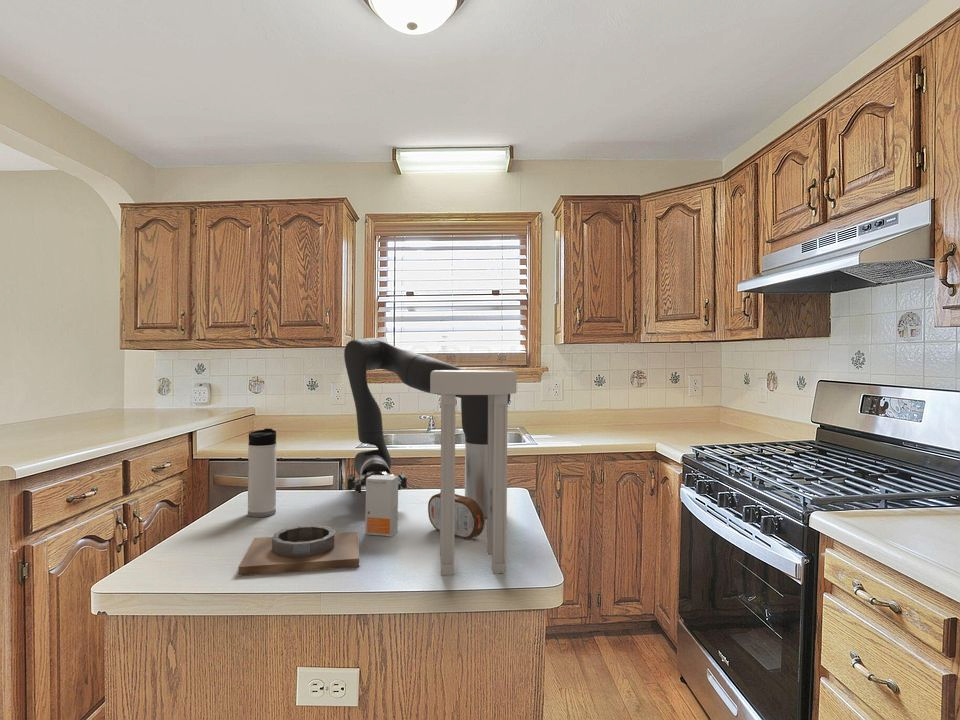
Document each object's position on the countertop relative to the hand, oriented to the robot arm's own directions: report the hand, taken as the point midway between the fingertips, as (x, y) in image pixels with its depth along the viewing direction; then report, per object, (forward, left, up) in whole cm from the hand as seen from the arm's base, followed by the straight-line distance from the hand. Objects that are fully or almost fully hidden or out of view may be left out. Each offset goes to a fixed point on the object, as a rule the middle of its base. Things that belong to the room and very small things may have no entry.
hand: (378, 488), depth 129 cm
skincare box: (0, +11, -7) cm, 13 cm away
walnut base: (+15, +22, -7) cm, 28 cm away
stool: (-15, +32, -7) cm, 36 cm away
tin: (-15, +15, -7) cm, 23 cm away
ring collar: (+15, +22, -6) cm, 27 cm away
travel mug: (+27, -10, -7) cm, 29 cm away
